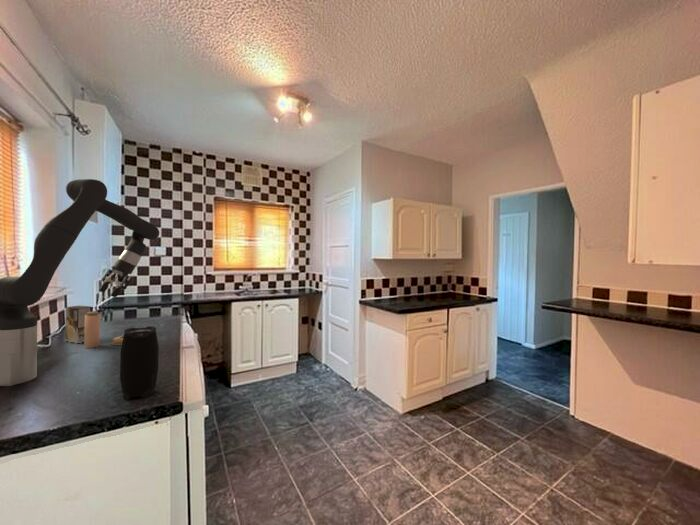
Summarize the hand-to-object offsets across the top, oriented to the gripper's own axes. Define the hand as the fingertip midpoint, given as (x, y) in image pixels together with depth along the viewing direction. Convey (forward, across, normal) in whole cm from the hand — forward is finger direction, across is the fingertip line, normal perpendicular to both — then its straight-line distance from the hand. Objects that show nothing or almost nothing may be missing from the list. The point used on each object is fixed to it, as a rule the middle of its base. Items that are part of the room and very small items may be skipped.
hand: (107, 294), depth 137 cm
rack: (+16, +7, +18) cm, 25 cm away
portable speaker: (+21, +63, -18) cm, 69 cm away
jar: (+23, +1, +6) cm, 24 cm away
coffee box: (+24, -13, +10) cm, 29 cm away
